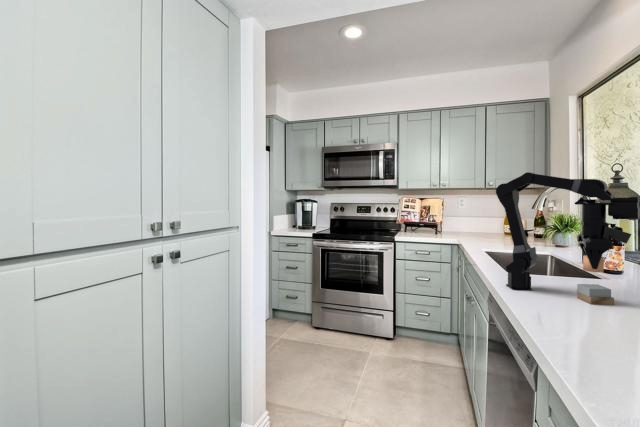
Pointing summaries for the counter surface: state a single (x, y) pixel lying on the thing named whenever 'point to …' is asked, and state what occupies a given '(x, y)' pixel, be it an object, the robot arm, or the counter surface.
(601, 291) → the top slab
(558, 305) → the counter surface
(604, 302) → the base slab
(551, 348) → the counter surface
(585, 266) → the tan rounded lump
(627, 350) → the counter surface
